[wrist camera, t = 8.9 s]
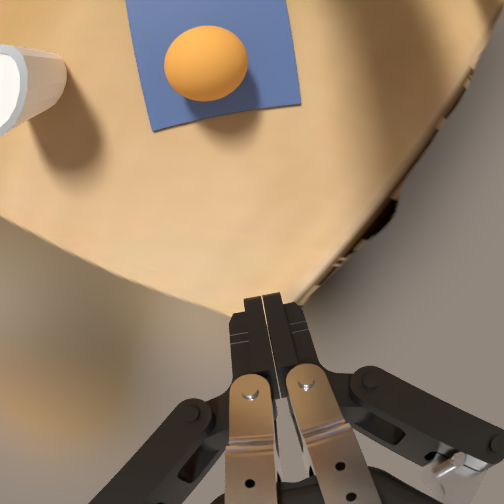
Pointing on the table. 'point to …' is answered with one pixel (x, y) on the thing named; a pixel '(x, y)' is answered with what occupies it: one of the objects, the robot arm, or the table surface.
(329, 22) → the table surface
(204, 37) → the ball
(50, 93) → the white cup
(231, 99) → the mark
